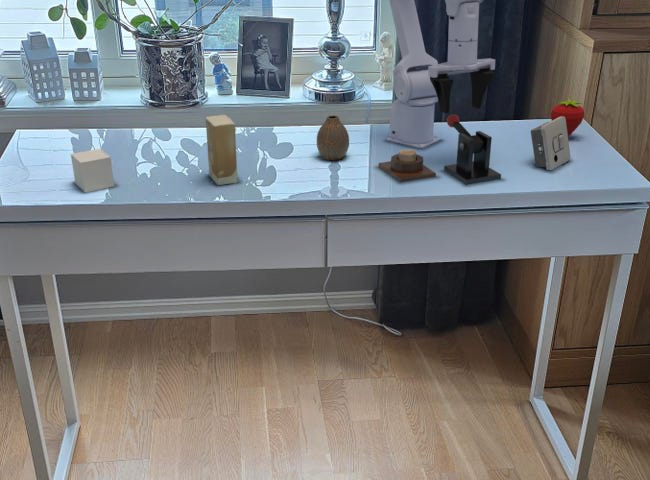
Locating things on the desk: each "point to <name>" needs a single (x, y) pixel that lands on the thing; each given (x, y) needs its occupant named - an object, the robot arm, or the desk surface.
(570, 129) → the strawberry
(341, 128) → the vase
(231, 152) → the cosmetic box
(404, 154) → the button
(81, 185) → the beige cube
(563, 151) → the electrical switch
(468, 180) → the black lever base
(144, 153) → the desk surface
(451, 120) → the red knob lever
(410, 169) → the control block
